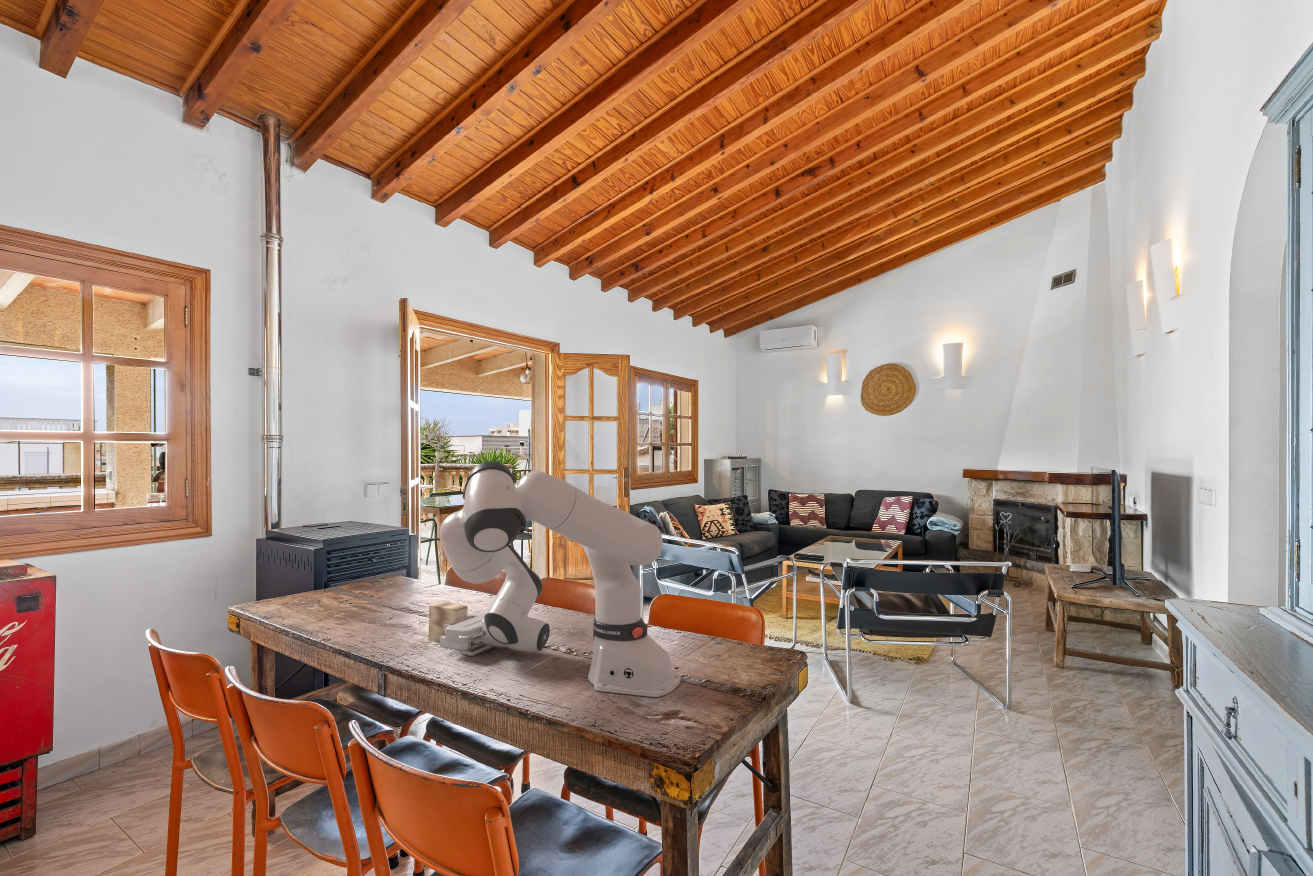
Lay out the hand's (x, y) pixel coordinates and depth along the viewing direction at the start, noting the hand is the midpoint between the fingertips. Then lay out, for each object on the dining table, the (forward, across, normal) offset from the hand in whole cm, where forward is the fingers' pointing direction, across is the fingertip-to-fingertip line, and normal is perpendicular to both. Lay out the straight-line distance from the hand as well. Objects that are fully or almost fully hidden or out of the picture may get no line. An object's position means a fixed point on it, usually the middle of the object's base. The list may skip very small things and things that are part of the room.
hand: (457, 622), depth 167 cm
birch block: (+4, +1, -6) cm, 7 cm away
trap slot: (-10, 0, -6) cm, 11 cm away
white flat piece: (-3, 0, -6) cm, 6 cm away
